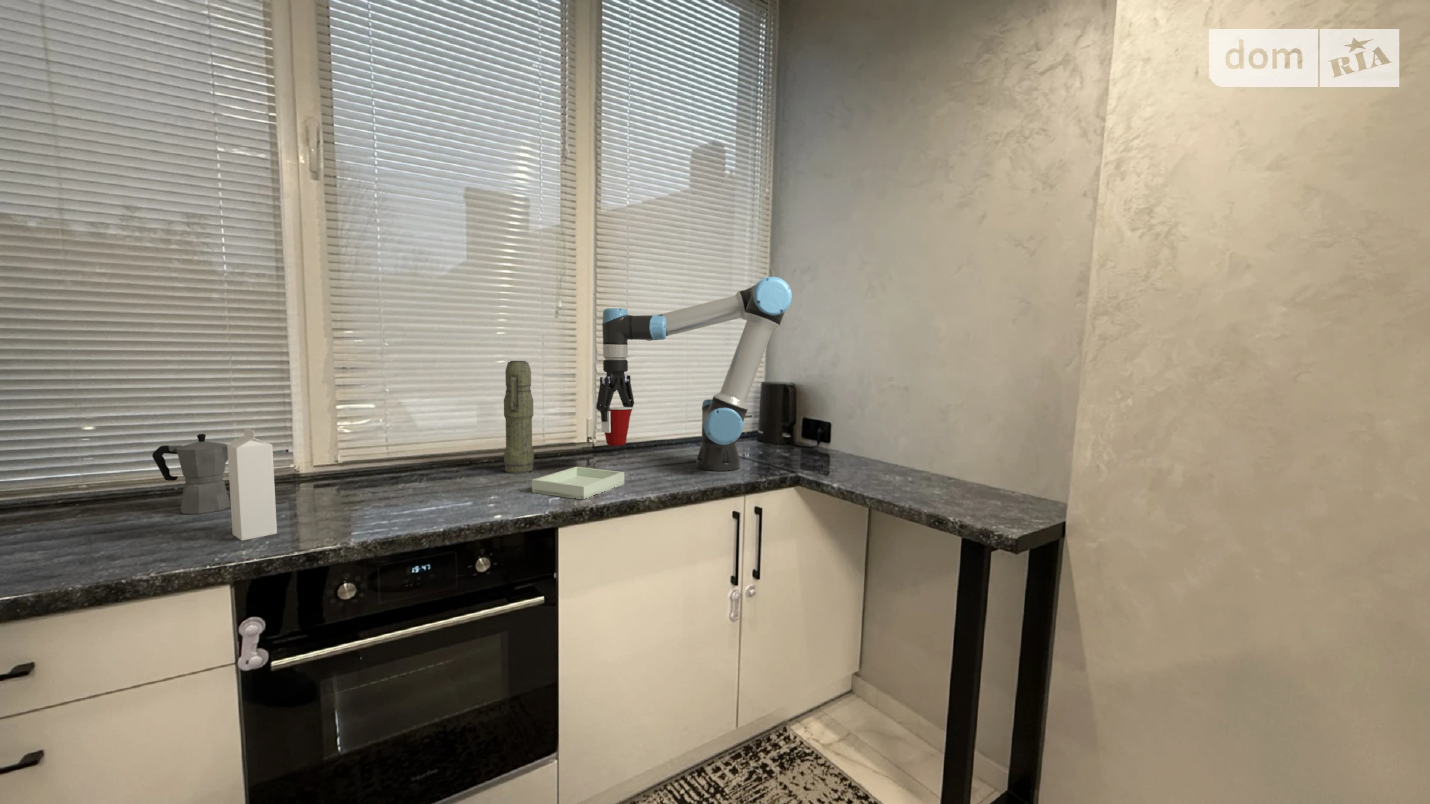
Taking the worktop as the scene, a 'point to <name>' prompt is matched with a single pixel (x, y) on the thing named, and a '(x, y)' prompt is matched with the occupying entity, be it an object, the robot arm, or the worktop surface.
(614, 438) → the plastic cup
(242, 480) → the milk
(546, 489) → the tray
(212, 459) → the coffeepot
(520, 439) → the thermos
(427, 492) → the worktop surface
